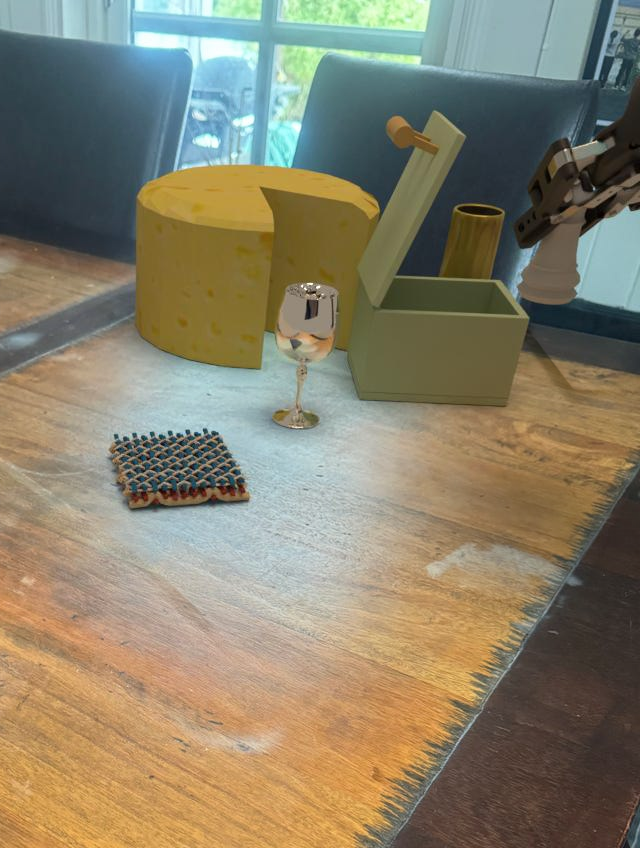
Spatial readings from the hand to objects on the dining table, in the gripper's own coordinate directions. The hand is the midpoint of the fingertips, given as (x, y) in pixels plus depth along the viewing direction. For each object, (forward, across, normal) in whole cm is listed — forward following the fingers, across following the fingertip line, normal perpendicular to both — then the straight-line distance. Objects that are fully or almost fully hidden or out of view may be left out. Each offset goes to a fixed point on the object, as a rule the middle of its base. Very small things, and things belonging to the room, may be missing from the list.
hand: (541, 234), depth 71 cm
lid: (+17, -3, -12) cm, 21 cm away
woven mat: (+19, +26, +9) cm, 33 cm away
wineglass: (+24, +11, +4) cm, 27 cm away
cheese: (+41, +4, -14) cm, 44 cm away
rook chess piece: (+2, 0, +4) cm, 5 cm away
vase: (+33, -16, -5) cm, 37 cm away
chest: (+27, -7, +1) cm, 28 cm away
